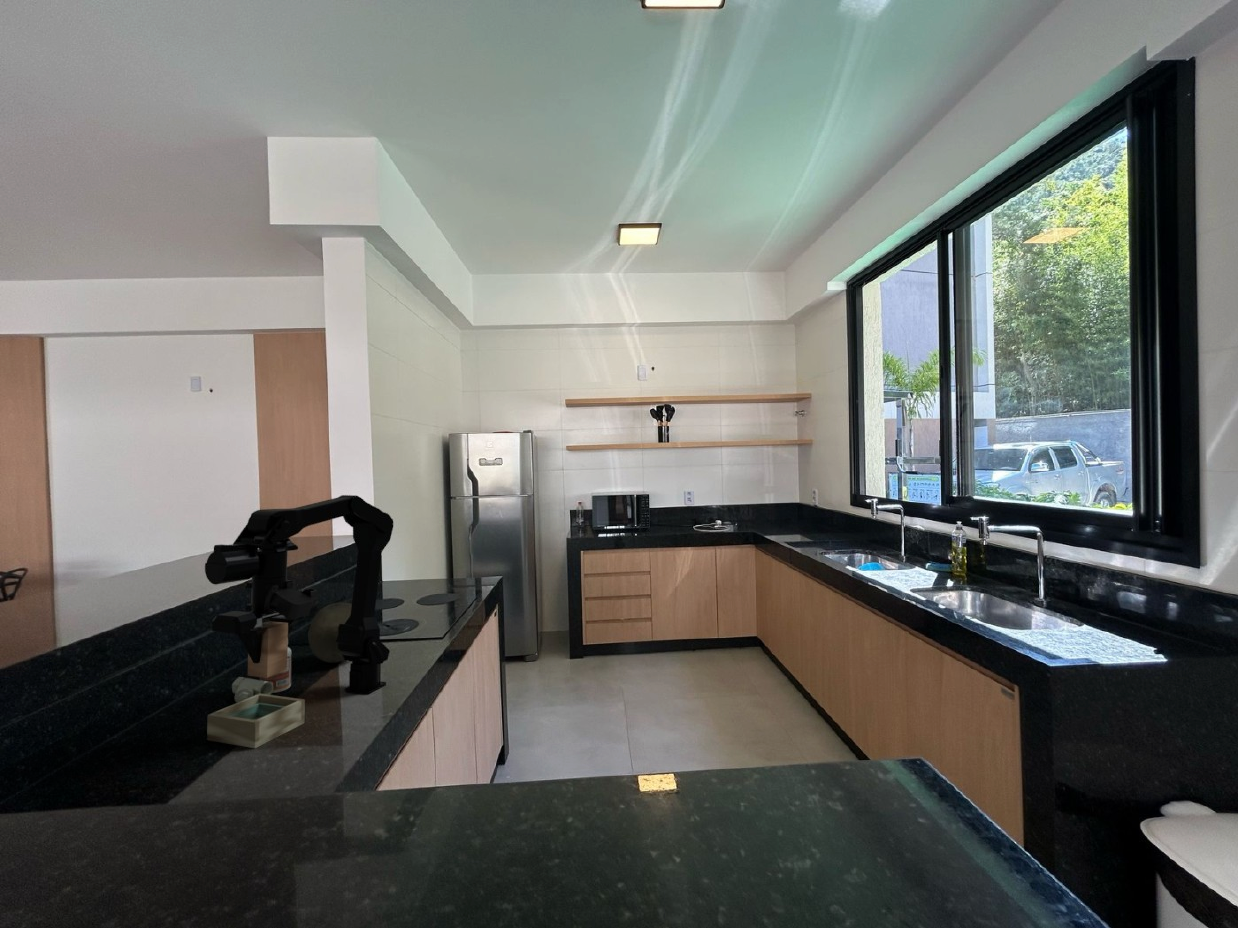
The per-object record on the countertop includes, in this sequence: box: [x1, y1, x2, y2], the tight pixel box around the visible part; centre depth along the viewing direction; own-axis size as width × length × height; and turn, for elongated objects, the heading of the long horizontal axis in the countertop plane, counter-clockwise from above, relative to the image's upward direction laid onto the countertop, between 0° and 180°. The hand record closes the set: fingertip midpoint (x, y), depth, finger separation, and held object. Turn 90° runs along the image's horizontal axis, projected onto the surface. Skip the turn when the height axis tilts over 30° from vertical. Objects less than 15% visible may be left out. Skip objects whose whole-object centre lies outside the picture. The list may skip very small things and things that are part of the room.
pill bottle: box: [259, 646, 292, 694], centre depth 133 cm, size 6×6×11 cm
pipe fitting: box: [231, 676, 273, 703], centre depth 127 cm, size 8×4×7 cm
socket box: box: [206, 694, 306, 749], centre depth 111 cm, size 11×11×4 cm
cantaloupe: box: [307, 602, 352, 664], centre depth 151 cm, size 14×14×15 cm
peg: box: [247, 620, 289, 678], centre depth 112 cm, size 4×4×9 cm
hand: (267, 659), depth 112 cm, fingers closed on peg, 4 cm apart
